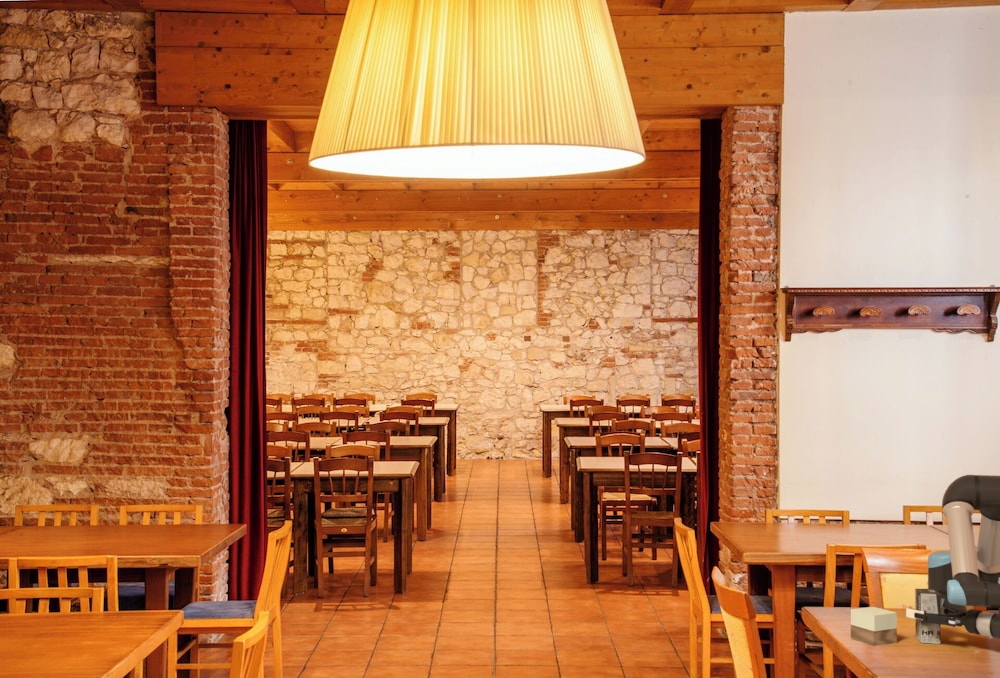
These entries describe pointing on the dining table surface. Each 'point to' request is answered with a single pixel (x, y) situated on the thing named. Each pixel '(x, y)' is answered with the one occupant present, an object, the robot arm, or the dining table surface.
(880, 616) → the tower top
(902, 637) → the dining table surface
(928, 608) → the coffee box
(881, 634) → the tower base
